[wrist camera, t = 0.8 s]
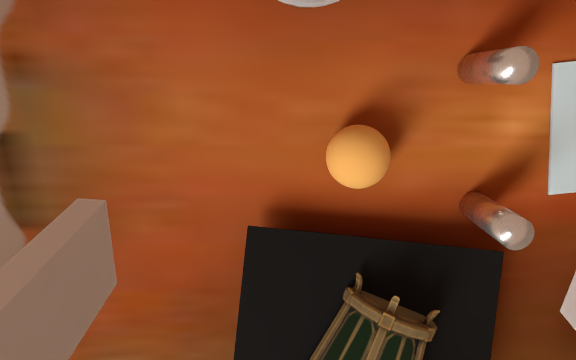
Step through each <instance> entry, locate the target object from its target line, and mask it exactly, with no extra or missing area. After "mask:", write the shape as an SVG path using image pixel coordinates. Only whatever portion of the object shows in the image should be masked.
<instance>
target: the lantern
mask: <svg viewBox="0 0 576 360" xmlns="http://www.w3.org/2000/svg"><path fill="white" fill-rule="evenodd" d="M503 253H504V252H502V251H492V250H482V249H473V248H463V247H453V246H443V245H433V244H423V243H414V242H404V241H394V240H384V239H374V238H365V237H355V236H345V235H335V234H325V233H315V232H306V231H296V230H286V229H276V228H266V227H256V226H248V229H247V239H246V248H245V258H244V267H243V277H242V286H241V296H240V305H239V315H238V324H237V333H236V343H235V352H234V360H490V357H491V349H492V341H493V333H494V325H495V317H496V309H497V301H498V293H499V285H500V277H501V269H502V261H503Z"/></svg>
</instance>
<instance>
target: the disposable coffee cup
mask: <svg viewBox="0 0 576 360" xmlns="http://www.w3.org/2000/svg"><path fill="white" fill-rule="evenodd" d="M279 1H281V2H283V3H287V4H289V5H291V6H293V7H297V8H311V7H320V6H325V5H328V4H332V3H335V2H337V1H339V0H279Z"/></svg>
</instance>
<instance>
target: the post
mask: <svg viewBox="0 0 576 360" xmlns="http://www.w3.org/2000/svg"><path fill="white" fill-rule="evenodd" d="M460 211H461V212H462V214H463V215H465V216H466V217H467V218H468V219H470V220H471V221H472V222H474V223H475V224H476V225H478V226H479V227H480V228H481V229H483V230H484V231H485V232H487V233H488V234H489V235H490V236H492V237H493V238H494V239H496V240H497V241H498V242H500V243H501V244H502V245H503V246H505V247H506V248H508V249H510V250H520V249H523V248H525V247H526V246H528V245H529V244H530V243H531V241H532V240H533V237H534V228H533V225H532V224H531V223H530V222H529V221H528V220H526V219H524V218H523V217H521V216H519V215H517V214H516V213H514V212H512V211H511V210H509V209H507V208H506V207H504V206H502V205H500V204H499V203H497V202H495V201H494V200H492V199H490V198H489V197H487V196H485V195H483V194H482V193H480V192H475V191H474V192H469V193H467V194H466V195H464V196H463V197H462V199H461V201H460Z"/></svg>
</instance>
